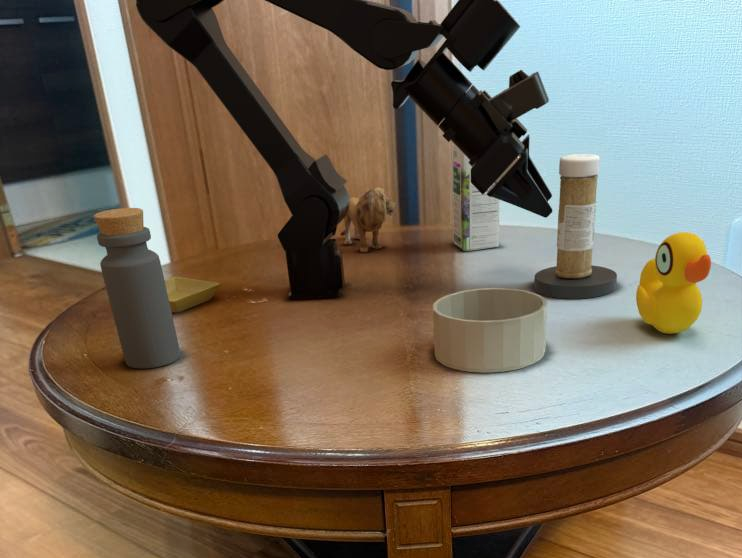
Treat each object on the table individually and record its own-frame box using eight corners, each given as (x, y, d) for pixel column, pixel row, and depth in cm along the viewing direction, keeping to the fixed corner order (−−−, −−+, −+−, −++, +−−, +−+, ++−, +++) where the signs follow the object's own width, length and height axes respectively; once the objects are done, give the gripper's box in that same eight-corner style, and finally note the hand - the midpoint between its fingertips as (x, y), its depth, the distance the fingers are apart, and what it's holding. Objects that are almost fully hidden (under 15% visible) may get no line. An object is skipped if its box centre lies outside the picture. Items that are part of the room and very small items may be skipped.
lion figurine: (403, 250, 122) (399, 186, 117) (373, 256, 119) (368, 192, 115) (354, 235, 132) (349, 177, 128) (326, 241, 130) (319, 181, 125)
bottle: (152, 372, 83) (115, 219, 75) (114, 364, 86) (74, 216, 78) (192, 354, 87) (161, 207, 79) (154, 347, 90) (121, 205, 82)
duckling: (721, 345, 80) (737, 240, 74) (670, 351, 79) (683, 246, 74) (667, 312, 89) (679, 218, 84) (622, 318, 88) (630, 223, 83)
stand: (539, 300, 96) (539, 288, 95) (530, 278, 104) (530, 266, 103) (623, 296, 95) (624, 283, 95) (607, 274, 104) (608, 262, 103)
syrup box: (452, 244, 123) (449, 139, 115) (488, 239, 124) (488, 135, 116) (463, 252, 119) (461, 143, 111) (501, 247, 120) (501, 139, 112)
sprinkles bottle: (558, 269, 101) (563, 153, 94) (595, 270, 100) (603, 152, 93) (551, 279, 98) (556, 159, 91) (589, 280, 96) (597, 158, 89)
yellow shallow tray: (225, 298, 105) (222, 282, 104) (176, 317, 99) (173, 300, 98) (178, 291, 109) (175, 276, 108) (129, 309, 103) (125, 293, 102)
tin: (435, 375, 78) (433, 324, 75) (434, 337, 87) (432, 291, 84) (551, 369, 77) (553, 318, 74) (538, 332, 86) (539, 285, 84)
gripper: (502, 46, 79) (607, 164, 83) (509, 41, 95) (598, 141, 99) (426, 138, 85) (529, 244, 89) (445, 119, 100) (531, 210, 104)
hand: (549, 206), depth 95 cm, fingers open, 9 cm apart
